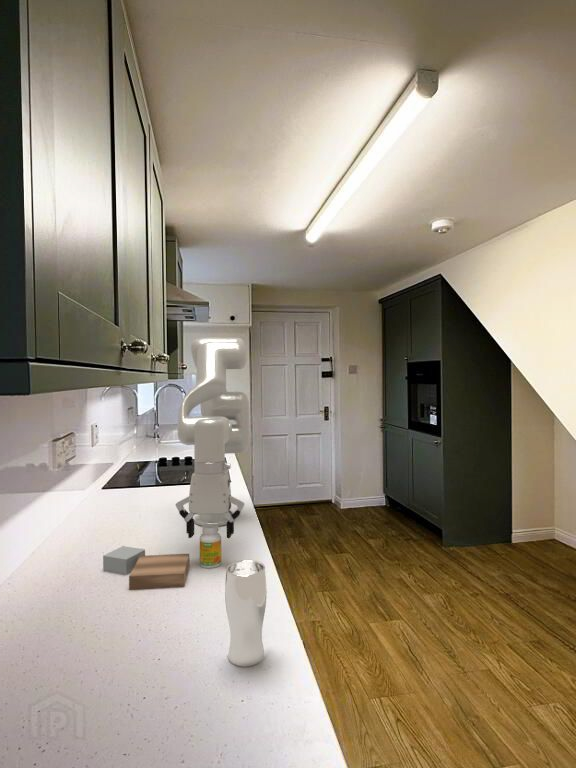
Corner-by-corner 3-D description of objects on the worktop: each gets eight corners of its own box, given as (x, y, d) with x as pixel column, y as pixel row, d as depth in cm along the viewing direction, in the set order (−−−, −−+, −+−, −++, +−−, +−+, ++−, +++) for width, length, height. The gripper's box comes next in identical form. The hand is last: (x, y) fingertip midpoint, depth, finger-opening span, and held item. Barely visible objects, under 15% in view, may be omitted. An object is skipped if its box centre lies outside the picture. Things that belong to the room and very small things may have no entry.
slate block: (123, 561, 120) (122, 546, 120) (145, 565, 118) (145, 549, 118) (103, 571, 114) (103, 555, 114) (126, 576, 111) (126, 559, 111)
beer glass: (267, 643, 82) (266, 559, 82) (266, 668, 75) (266, 576, 75) (227, 644, 82) (226, 560, 82) (223, 669, 75) (222, 577, 75)
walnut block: (140, 567, 116) (140, 555, 115) (189, 565, 117) (189, 553, 117) (129, 589, 104) (129, 576, 104) (184, 586, 105) (184, 573, 105)
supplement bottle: (200, 569, 114) (200, 530, 114) (198, 561, 119) (198, 523, 119) (222, 567, 116) (222, 528, 116) (220, 559, 121) (219, 521, 121)
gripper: (246, 465, 120) (246, 532, 120) (180, 465, 121) (180, 531, 121) (241, 470, 113) (242, 541, 112) (171, 470, 114) (171, 541, 114)
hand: (210, 536), depth 117 cm, fingers open, 9 cm apart
